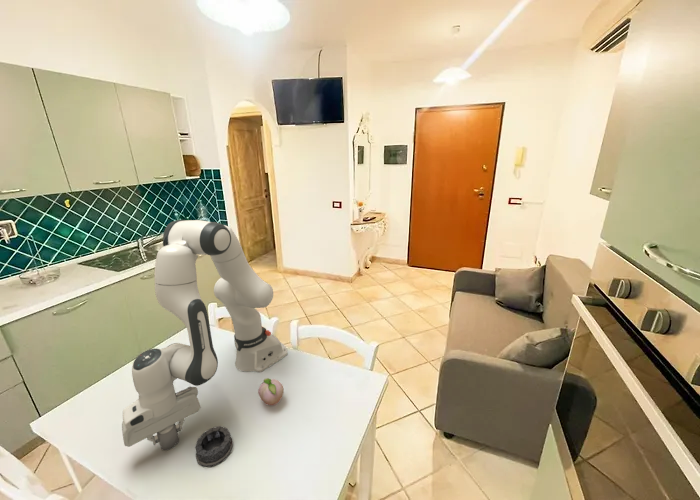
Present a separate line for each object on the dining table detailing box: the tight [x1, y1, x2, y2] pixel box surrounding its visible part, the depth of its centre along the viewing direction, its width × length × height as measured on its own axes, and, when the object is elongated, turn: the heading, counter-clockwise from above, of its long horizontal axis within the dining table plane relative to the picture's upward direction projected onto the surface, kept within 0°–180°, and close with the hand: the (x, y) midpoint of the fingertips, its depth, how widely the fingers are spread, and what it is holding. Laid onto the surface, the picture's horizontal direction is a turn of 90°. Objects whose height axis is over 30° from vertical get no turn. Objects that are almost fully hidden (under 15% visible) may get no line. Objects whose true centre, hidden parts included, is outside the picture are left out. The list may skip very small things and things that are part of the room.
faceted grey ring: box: [194, 425, 234, 468], centre depth 90 cm, size 10×10×4 cm
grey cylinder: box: [156, 423, 180, 451], centre depth 92 cm, size 5×5×6 cm
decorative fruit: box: [257, 377, 285, 406], centre depth 106 cm, size 9×8×10 cm
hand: (168, 436), depth 92 cm, fingers closed on grey cylinder, 5 cm apart
